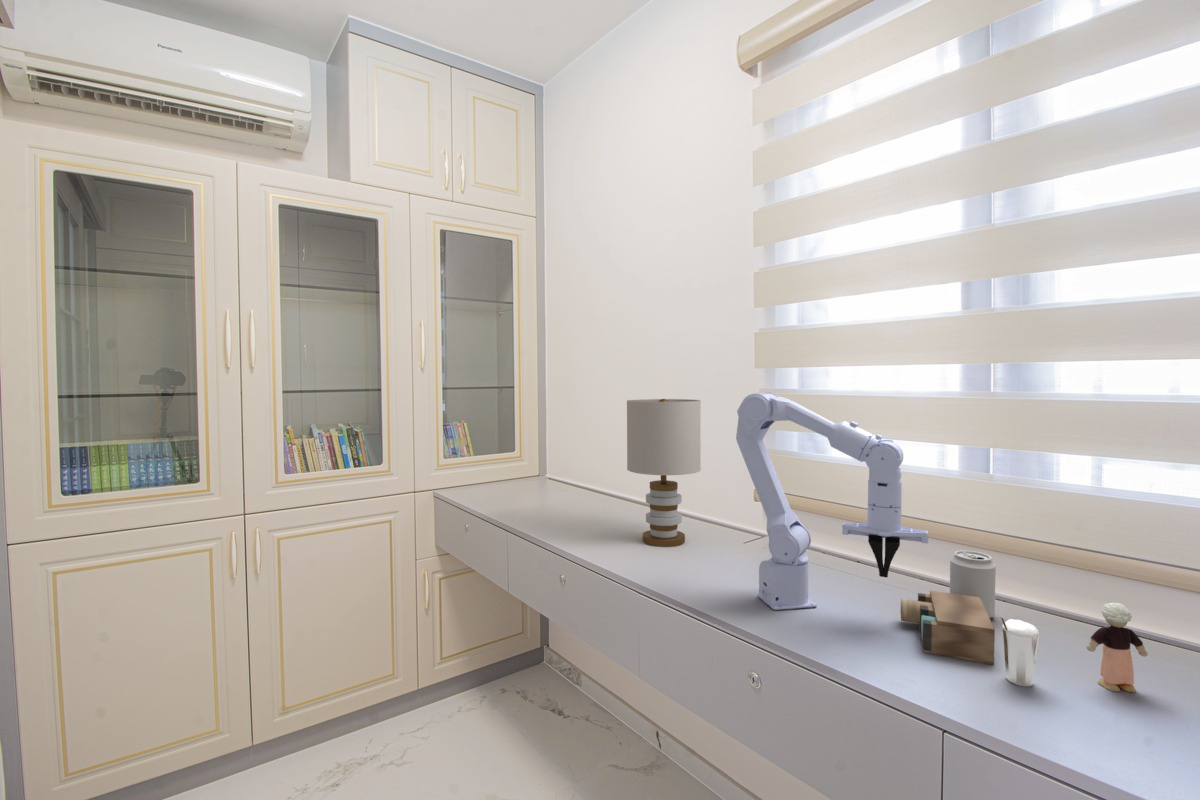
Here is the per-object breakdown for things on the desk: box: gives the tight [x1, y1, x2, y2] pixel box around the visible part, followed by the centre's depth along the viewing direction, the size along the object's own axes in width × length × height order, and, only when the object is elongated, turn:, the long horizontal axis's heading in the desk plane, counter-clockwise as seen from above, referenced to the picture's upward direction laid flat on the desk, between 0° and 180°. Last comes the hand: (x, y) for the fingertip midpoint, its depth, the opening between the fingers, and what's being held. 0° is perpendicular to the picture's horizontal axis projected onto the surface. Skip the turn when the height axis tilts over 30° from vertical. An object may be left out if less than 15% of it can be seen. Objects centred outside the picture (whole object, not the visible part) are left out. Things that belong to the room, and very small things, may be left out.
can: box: [949, 549, 997, 619], centre depth 111 cm, size 8×8×12 cm
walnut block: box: [917, 590, 996, 665], centre depth 101 cm, size 10×15×6 cm, turn 154°
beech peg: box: [900, 598, 933, 625], centre depth 105 cm, size 10×4×4 cm, turn 64°
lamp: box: [626, 398, 702, 548], centre depth 163 cm, size 21×21×41 cm
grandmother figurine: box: [1086, 602, 1149, 693], centre depth 85 cm, size 8×4×13 cm, turn 92°
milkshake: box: [1000, 616, 1040, 688], centre depth 87 cm, size 4×5×10 cm
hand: (883, 575), depth 108 cm, fingers closed
